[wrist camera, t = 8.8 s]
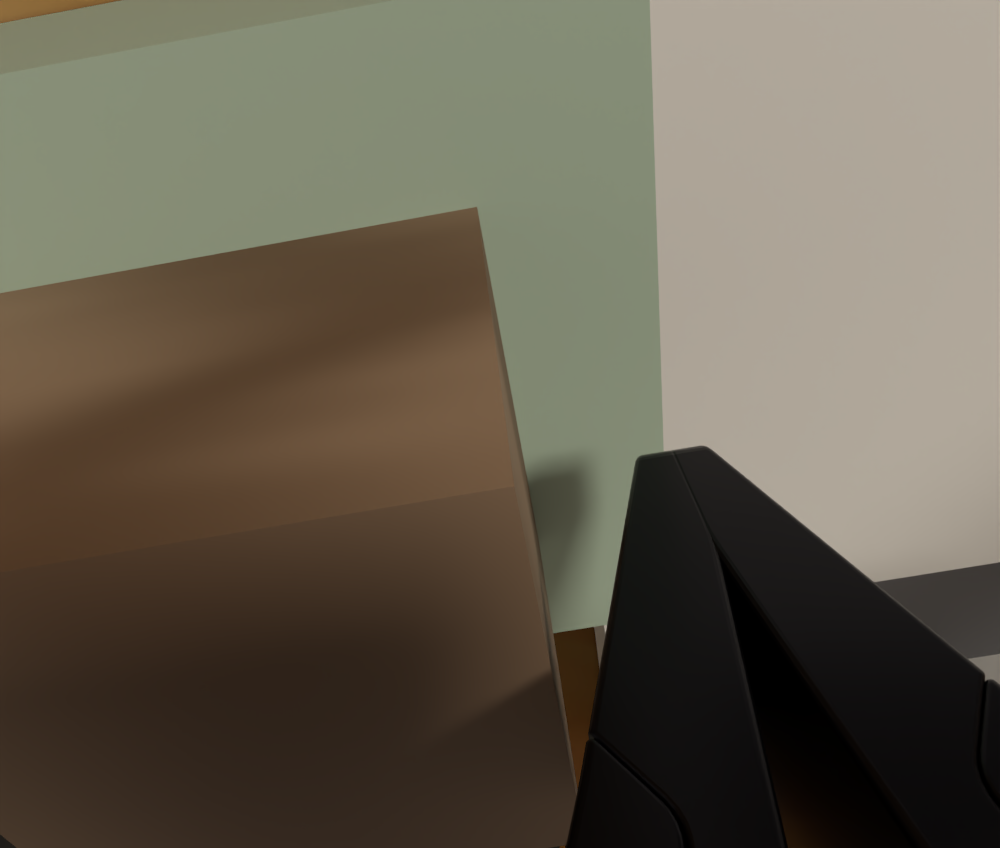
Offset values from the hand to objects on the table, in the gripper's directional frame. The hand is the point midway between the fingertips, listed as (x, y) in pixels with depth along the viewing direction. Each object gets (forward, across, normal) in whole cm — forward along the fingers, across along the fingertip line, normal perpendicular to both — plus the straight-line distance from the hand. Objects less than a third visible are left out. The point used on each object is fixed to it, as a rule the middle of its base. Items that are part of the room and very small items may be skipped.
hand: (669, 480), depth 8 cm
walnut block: (+2, +4, 0) cm, 4 cm away
